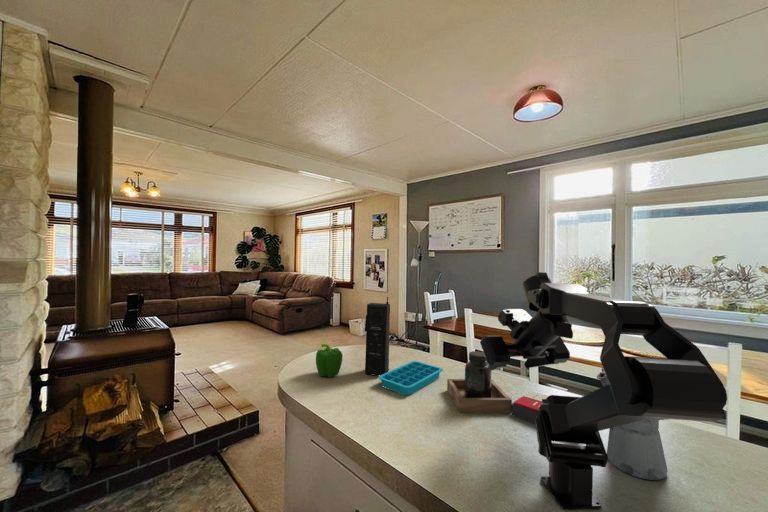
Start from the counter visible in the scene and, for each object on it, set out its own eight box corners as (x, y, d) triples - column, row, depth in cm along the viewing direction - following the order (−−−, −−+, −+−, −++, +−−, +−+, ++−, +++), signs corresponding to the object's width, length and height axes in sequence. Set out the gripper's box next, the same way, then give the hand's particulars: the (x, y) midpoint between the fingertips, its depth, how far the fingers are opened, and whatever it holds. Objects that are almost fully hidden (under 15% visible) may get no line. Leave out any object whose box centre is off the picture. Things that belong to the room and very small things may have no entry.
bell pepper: (345, 371, 104) (345, 340, 104) (337, 380, 96) (338, 348, 96) (320, 369, 105) (321, 339, 105) (311, 378, 97) (312, 346, 97)
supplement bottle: (474, 390, 88) (475, 348, 88) (496, 400, 83) (497, 354, 83) (459, 396, 84) (459, 352, 84) (480, 406, 79) (481, 359, 79)
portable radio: (361, 374, 101) (362, 297, 101) (367, 368, 107) (369, 295, 107) (384, 377, 99) (386, 298, 99) (389, 370, 105) (391, 296, 105)
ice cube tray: (444, 378, 100) (444, 368, 100) (408, 399, 85) (408, 388, 85) (413, 369, 108) (414, 360, 108) (376, 387, 92) (376, 377, 92)
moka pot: (580, 449, 63) (582, 351, 63) (651, 448, 64) (653, 351, 64) (618, 484, 54) (621, 368, 54) (701, 481, 55) (703, 367, 55)
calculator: (529, 389, 85) (594, 406, 74) (529, 405, 84) (594, 425, 73) (510, 401, 77) (579, 422, 66) (511, 418, 77) (580, 443, 66)
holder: (511, 413, 78) (511, 399, 78) (460, 412, 77) (460, 399, 77) (491, 390, 91) (491, 379, 91) (447, 390, 90) (447, 378, 90)
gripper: (560, 298, 70) (527, 335, 81) (485, 298, 66) (460, 338, 77) (590, 342, 62) (549, 377, 73) (506, 345, 58) (476, 382, 69)
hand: (508, 367), depth 73 cm, fingers open, 9 cm apart
